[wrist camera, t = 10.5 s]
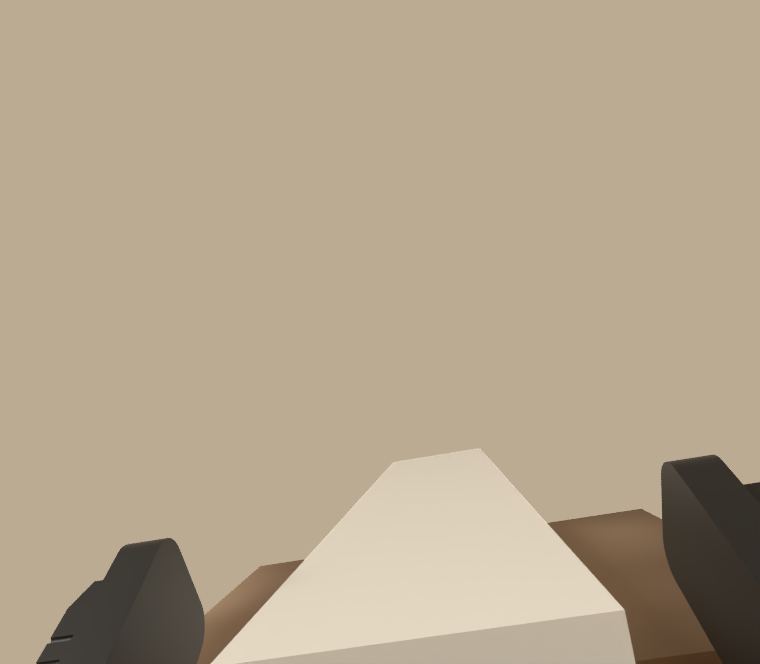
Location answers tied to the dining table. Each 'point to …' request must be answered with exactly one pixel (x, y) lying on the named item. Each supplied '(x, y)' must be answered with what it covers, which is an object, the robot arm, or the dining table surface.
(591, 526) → the walnut shelf
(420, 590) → the cutlery box
